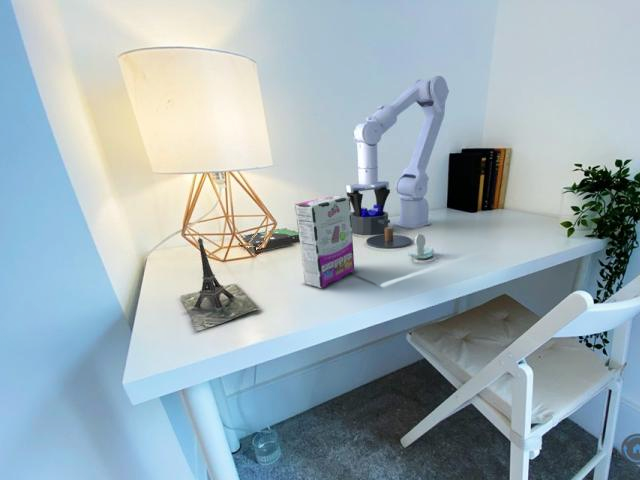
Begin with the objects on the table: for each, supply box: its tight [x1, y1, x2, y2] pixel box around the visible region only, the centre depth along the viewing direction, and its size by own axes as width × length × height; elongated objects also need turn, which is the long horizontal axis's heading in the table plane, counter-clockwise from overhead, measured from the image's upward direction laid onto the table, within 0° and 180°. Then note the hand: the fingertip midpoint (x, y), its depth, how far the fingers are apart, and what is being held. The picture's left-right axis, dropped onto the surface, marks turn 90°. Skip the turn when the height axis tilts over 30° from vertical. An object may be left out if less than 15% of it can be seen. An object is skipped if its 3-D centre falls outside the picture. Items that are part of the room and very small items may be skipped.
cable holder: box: [361, 204, 382, 217], centre depth 105 cm, size 8×4×4 cm, turn 139°
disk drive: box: [237, 227, 300, 253], centre depth 95 cm, size 10×3×15 cm
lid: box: [365, 226, 413, 250], centre depth 94 cm, size 13×13×5 cm
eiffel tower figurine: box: [180, 232, 260, 332], centre depth 58 cm, size 15×10×13 cm
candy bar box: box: [294, 195, 355, 289], centre depth 69 cm, size 11×5×16 cm, turn 148°
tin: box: [351, 209, 391, 236], centre depth 106 cm, size 12×17×6 cm
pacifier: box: [406, 233, 438, 264], centre depth 81 cm, size 7×6×6 cm
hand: (369, 214), depth 105 cm, fingers closed on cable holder, 7 cm apart
